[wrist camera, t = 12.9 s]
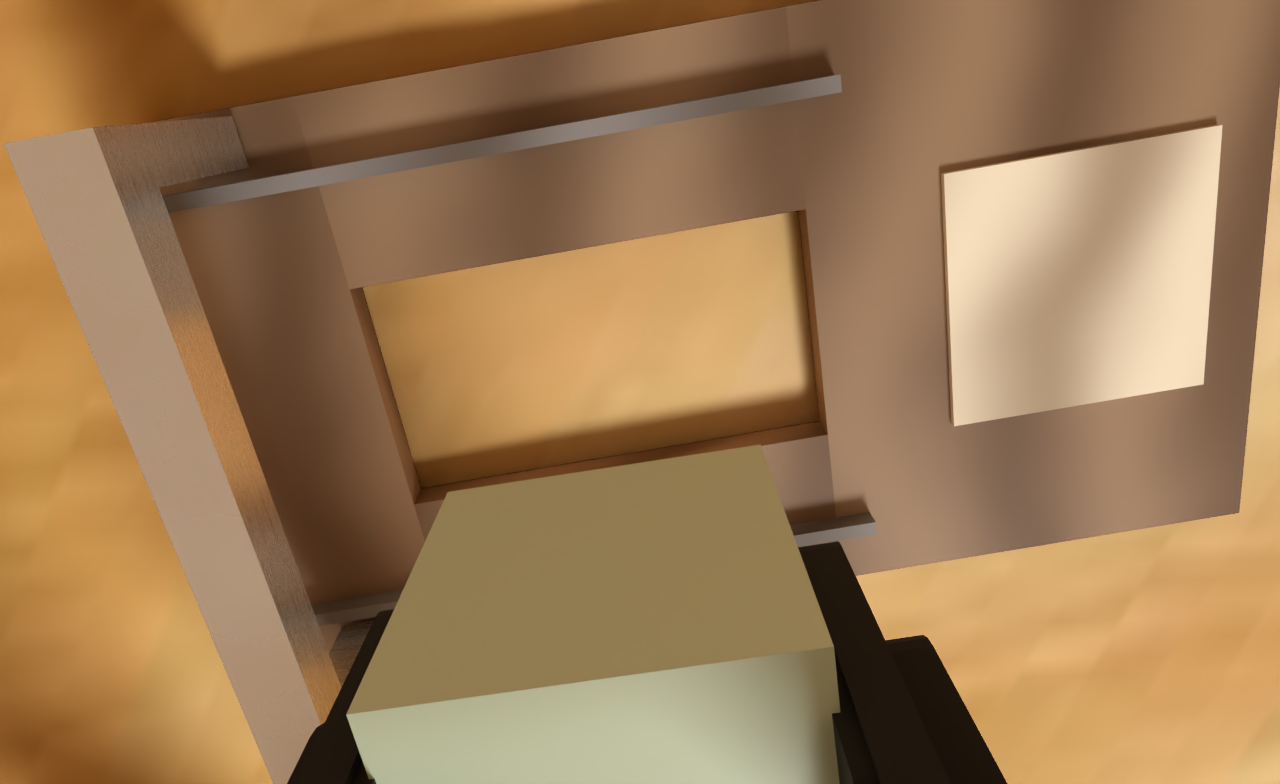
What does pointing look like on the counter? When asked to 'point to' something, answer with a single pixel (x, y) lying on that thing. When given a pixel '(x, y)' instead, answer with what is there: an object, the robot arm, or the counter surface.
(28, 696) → the counter surface
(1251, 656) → the counter surface
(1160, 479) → the board
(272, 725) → the gate
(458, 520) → the block
